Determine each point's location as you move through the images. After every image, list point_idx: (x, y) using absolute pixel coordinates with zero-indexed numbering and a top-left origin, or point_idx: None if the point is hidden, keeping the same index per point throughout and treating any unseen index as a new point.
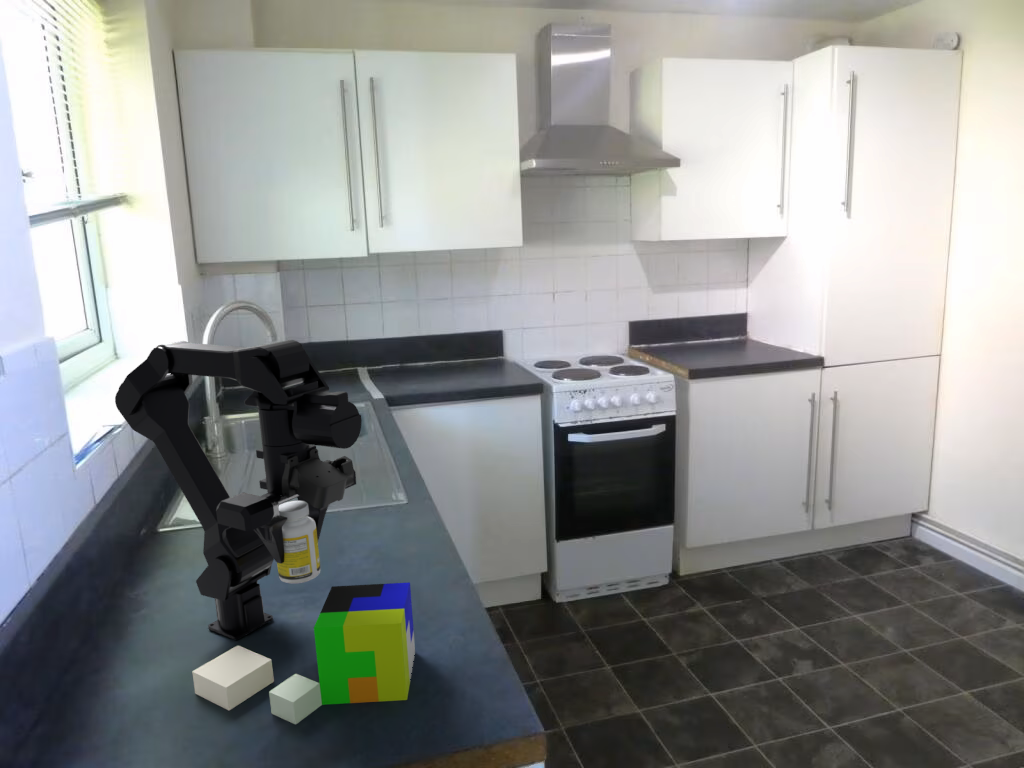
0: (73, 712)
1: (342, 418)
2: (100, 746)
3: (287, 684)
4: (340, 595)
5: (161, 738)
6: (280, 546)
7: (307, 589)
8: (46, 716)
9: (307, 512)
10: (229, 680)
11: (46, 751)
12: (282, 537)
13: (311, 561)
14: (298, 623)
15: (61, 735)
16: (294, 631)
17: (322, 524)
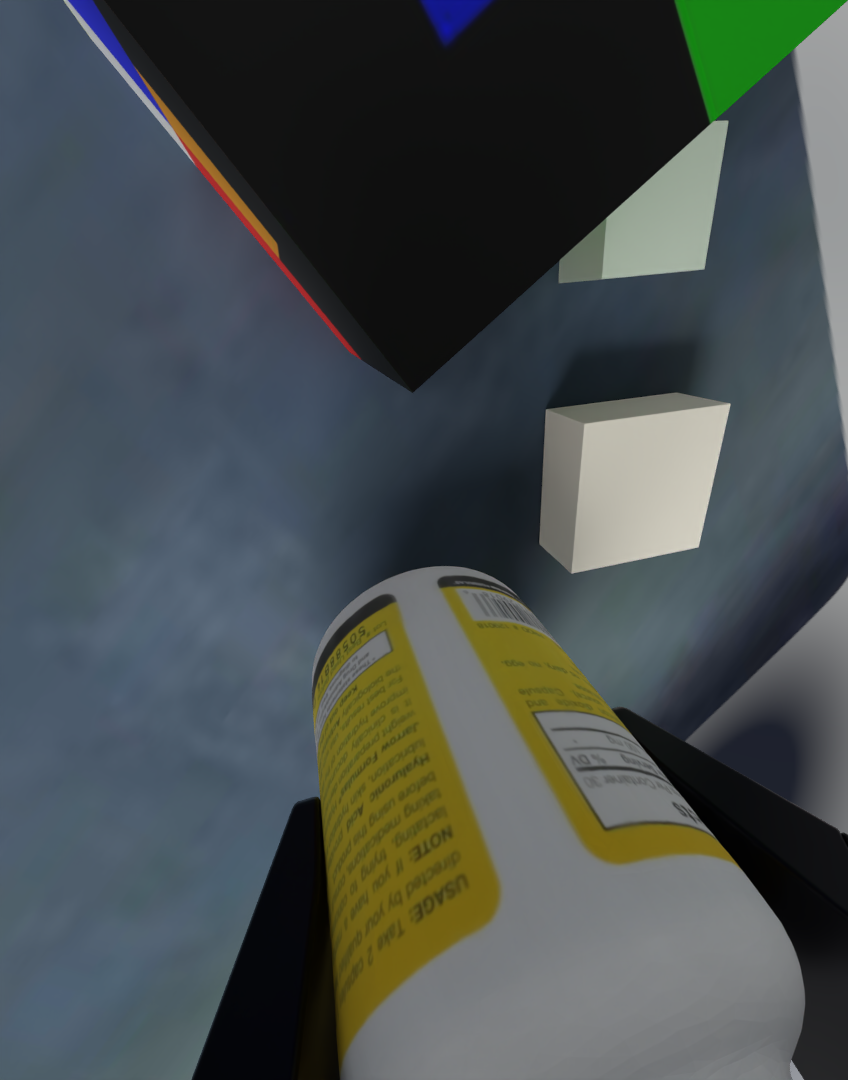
0: (757, 631)
1: None
2: (820, 501)
3: (658, 244)
4: (468, 209)
5: (783, 428)
6: (756, 807)
7: (181, 763)
8: (774, 649)
9: None
10: (703, 428)
11: (842, 558)
12: (825, 895)
13: (461, 632)
14: (316, 619)
15: (807, 583)
16: (350, 590)
17: (213, 1031)
